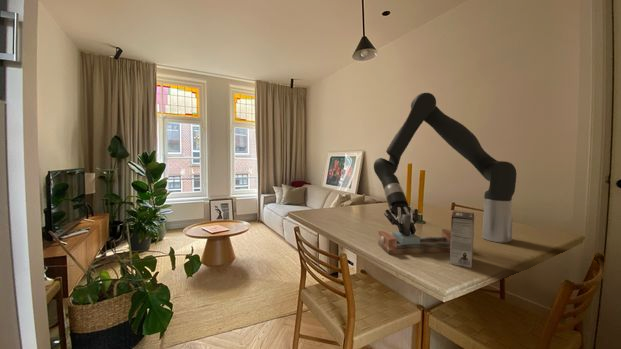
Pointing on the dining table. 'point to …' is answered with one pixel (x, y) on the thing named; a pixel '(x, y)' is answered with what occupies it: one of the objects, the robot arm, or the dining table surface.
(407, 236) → the grey post blue base
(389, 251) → the rail
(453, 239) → the coffee box
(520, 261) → the dining table surface
